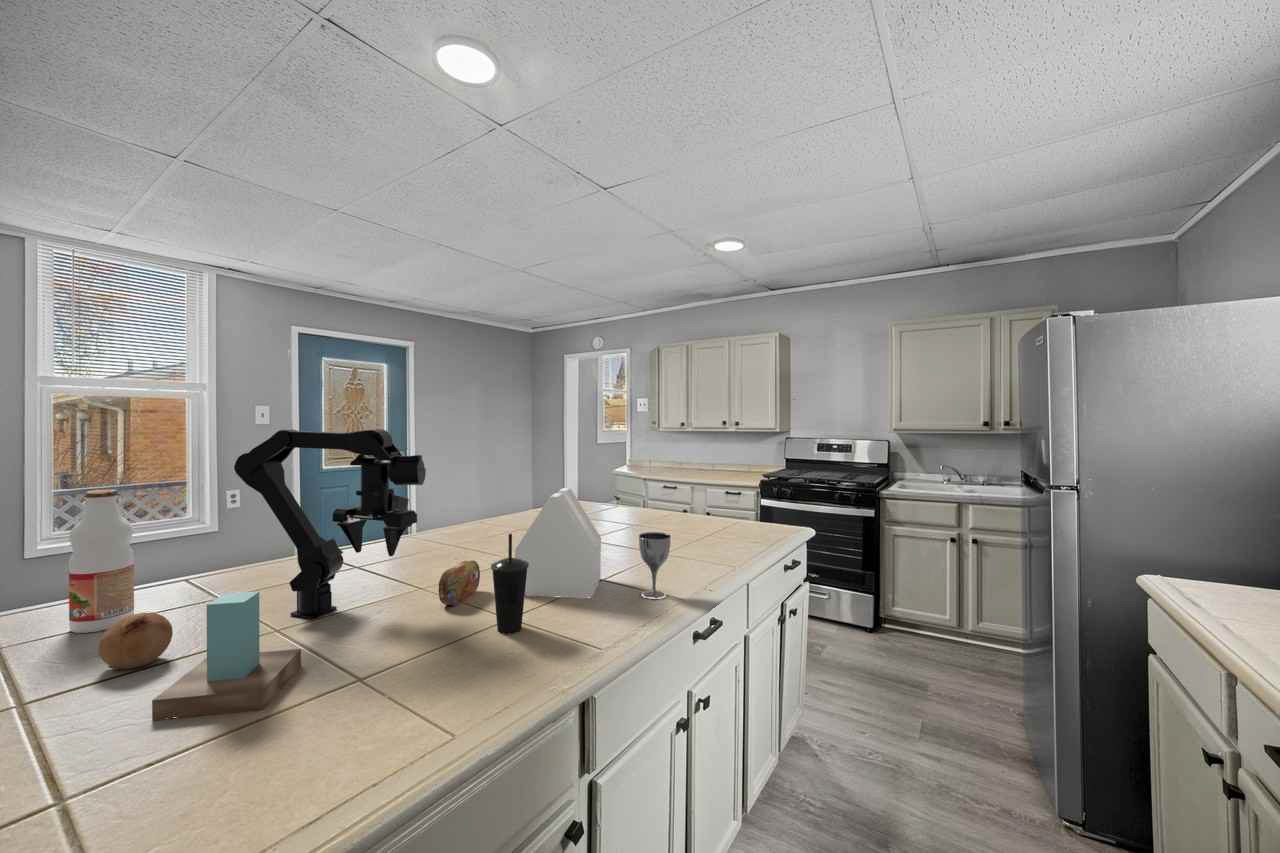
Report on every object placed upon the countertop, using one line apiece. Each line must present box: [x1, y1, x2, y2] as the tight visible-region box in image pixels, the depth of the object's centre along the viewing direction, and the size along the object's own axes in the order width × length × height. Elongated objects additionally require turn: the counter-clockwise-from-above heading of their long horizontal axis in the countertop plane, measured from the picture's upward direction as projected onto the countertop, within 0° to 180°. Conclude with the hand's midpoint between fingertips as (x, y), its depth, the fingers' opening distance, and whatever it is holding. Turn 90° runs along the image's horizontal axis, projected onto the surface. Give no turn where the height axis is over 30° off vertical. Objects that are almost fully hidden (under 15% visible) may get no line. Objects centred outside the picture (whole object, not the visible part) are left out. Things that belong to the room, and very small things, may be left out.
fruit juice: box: [68, 489, 135, 634], centre depth 108 cm, size 9×9×28 cm
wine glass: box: [638, 531, 672, 598], centre depth 130 cm, size 8×8×15 cm
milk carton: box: [514, 487, 602, 598], centre depth 135 cm, size 19×15×25 cm
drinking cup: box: [490, 533, 529, 635], centre depth 108 cm, size 8×8×20 cm
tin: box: [438, 560, 481, 607], centre depth 126 cm, size 15×3×8 cm, turn 168°
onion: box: [98, 612, 174, 670], centre depth 91 cm, size 10×9×10 cm
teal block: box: [206, 591, 260, 681], centre depth 83 cm, size 5×5×12 cm
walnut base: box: [151, 648, 302, 721], centre depth 83 cm, size 14×14×3 cm
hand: (374, 554), depth 117 cm, fingers open, 9 cm apart
